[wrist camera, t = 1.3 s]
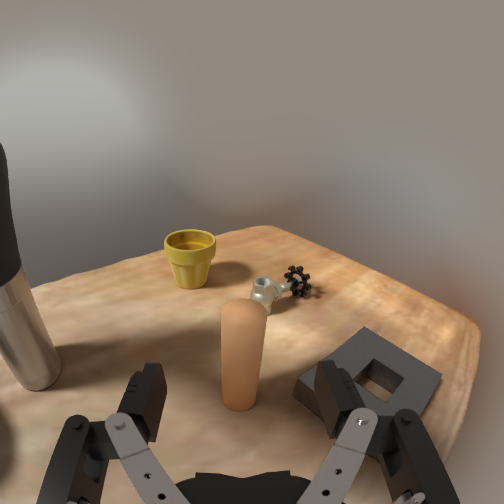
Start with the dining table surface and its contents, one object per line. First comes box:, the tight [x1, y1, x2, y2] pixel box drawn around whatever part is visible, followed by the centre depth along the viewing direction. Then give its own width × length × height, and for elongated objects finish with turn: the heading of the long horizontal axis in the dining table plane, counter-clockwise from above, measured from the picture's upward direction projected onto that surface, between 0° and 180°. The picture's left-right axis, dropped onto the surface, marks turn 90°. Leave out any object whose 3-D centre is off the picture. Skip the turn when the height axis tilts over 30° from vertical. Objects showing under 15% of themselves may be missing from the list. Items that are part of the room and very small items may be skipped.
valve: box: [250, 266, 311, 315], centre depth 51 cm, size 7×7×12 cm
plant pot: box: [164, 230, 216, 289], centre depth 55 cm, size 10×10×10 cm
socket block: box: [293, 327, 442, 462], centre depth 31 cm, size 16×16×4 cm
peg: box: [221, 299, 267, 411], centre depth 29 cm, size 4×4×15 cm
